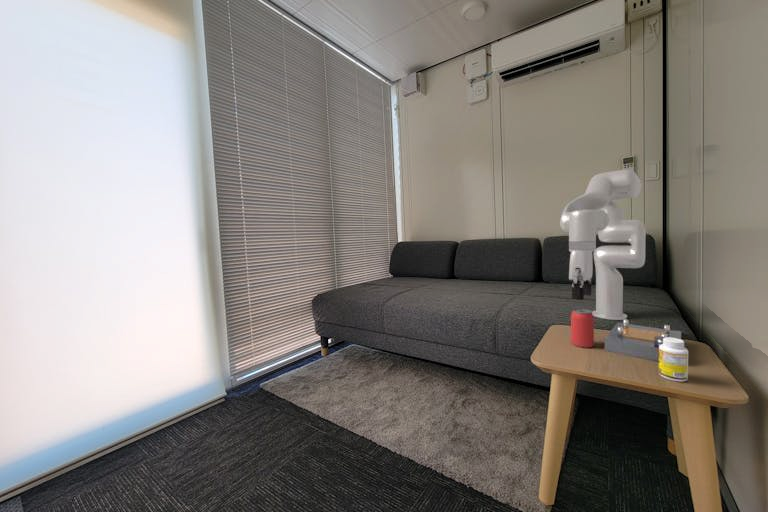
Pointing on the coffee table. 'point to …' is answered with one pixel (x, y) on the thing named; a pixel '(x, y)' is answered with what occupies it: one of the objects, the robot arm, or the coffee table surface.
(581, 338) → the beer can
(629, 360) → the coffee table surface
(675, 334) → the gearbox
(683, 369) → the supplement bottle
